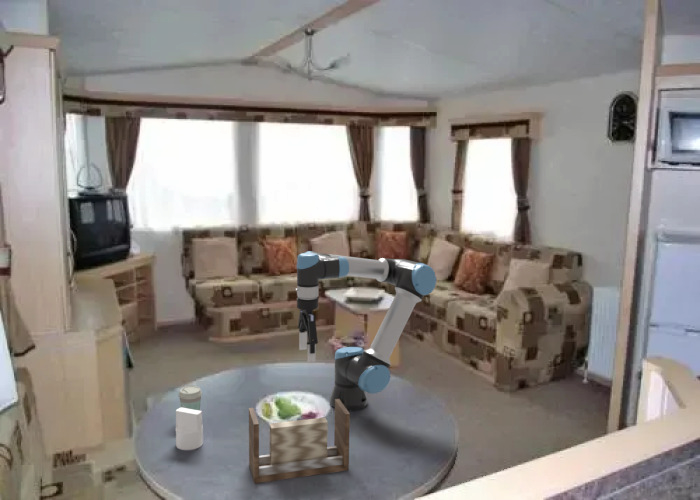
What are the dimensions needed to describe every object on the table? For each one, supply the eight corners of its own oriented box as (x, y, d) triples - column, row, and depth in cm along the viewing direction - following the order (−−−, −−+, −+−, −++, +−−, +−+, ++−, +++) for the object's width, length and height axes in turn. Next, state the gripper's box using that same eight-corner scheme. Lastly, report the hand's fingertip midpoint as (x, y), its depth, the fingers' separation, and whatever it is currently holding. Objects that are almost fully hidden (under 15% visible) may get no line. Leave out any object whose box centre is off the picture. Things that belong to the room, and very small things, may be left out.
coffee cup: (181, 415, 223) (180, 385, 221) (204, 415, 223) (203, 385, 222) (176, 425, 214) (176, 394, 212) (200, 424, 215) (199, 394, 213)
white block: (208, 440, 203) (207, 407, 202) (193, 452, 195) (192, 418, 193) (186, 436, 206) (185, 403, 204) (170, 447, 198) (169, 414, 196)
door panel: (324, 457, 191) (324, 417, 189) (327, 463, 187) (327, 422, 185) (269, 465, 185) (269, 423, 183) (271, 470, 182) (271, 428, 180)
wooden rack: (338, 452, 196) (339, 398, 194) (348, 470, 185) (349, 413, 182) (249, 464, 188) (248, 408, 185) (254, 483, 176) (253, 424, 174)
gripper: (290, 290, 215) (290, 345, 218) (304, 306, 191) (304, 368, 194) (309, 289, 217) (309, 344, 220) (327, 305, 193) (326, 366, 197)
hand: (307, 355), depth 207 cm, fingers open, 13 cm apart
